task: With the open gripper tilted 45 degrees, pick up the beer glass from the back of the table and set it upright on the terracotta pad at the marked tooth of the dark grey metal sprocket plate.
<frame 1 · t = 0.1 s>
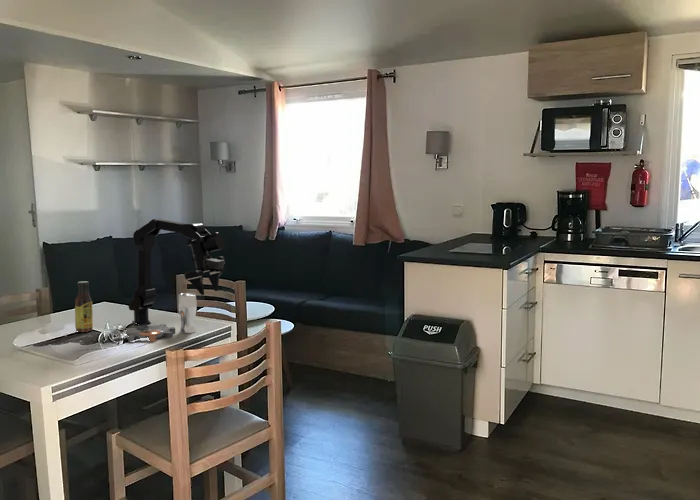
hand: (209, 292, 225), 15 cm above the table, tool pointing down, fingers open, 9 cm apart
sauce bottle: (84, 332, 225), on the table
beer glass: (188, 332, 226), on the table
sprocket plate: (148, 335, 220), on the table
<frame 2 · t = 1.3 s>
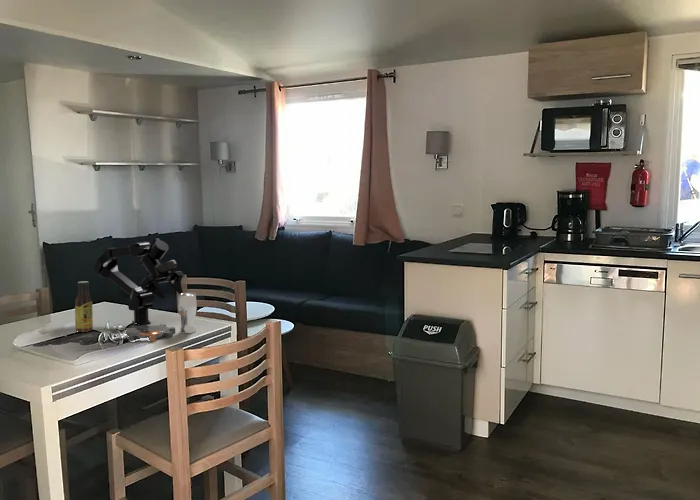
hand: (173, 296, 228), 13 cm above the table, tool tilted 45°, fingers open, 9 cm apart
nothing on the table moved.
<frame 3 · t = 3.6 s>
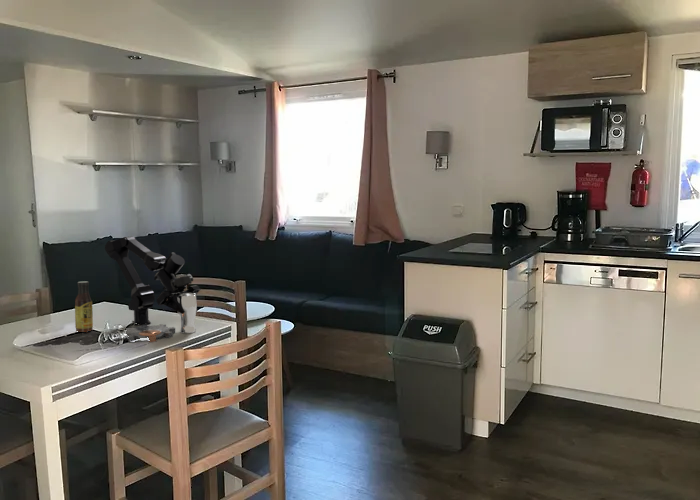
hand: (190, 311, 225), 8 cm above the table, tool tilted 45°, fingers closed on beer glass, 7 cm apart
beer glass: (188, 332, 226), on the table, touching gripper
everything else where it was.
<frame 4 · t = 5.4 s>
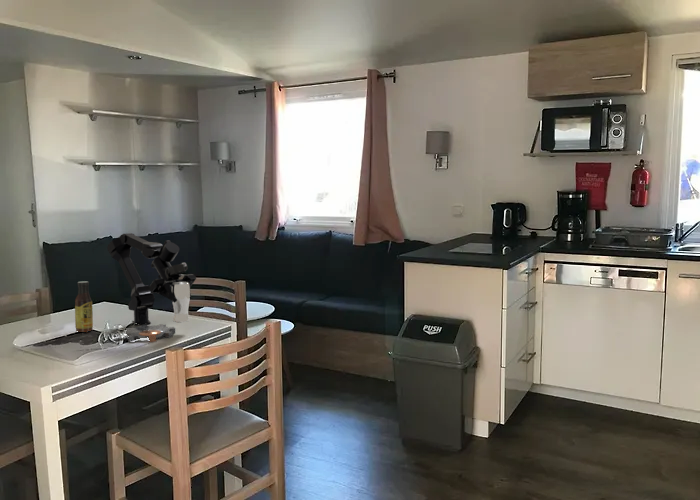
hand: (182, 300, 221), 13 cm above the table, tool tilted 45°, fingers closed on beer glass, 7 cm apart
beer glass: (181, 321, 223), point 5 cm above the table, touching gripper
everything else where it was.
when the fingers open (11 cm above the table, at t = 7.4 s): beer glass stays where it is, resting on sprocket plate.
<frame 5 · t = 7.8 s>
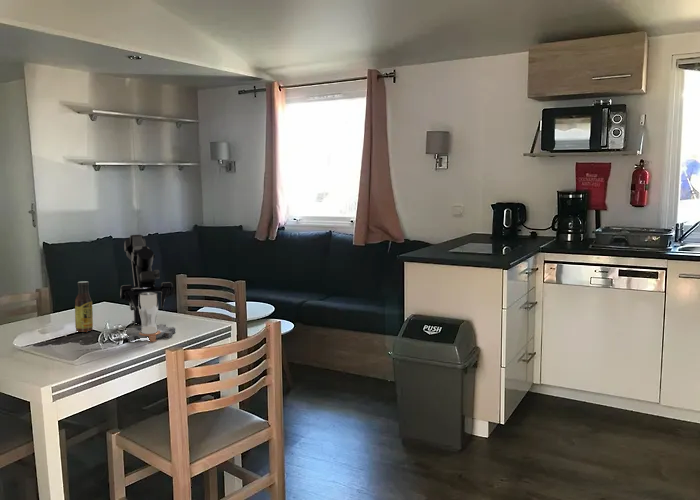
hand: (149, 308, 213), 12 cm above the table, tool tilted 45°, fingers open, 9 cm apart
beer glass: (149, 333, 216), point 2 cm above the table, touching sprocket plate
everything else where it was.
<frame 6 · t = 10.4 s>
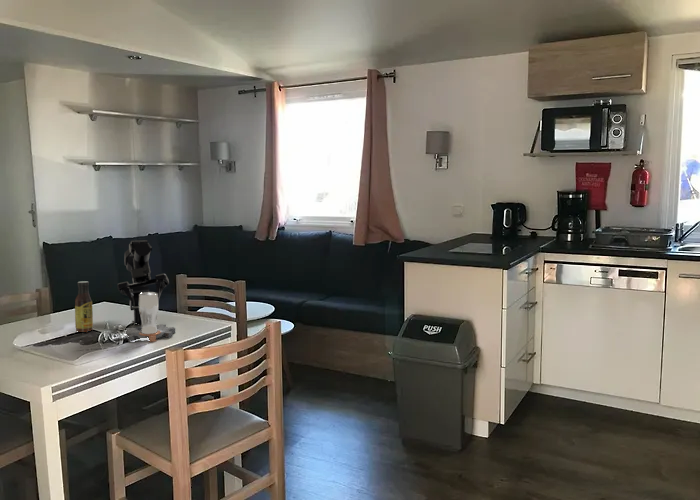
hand: (145, 303, 222), 12 cm above the table, tool tilted 35°, fingers open, 9 cm apart
nothing on the table moved.
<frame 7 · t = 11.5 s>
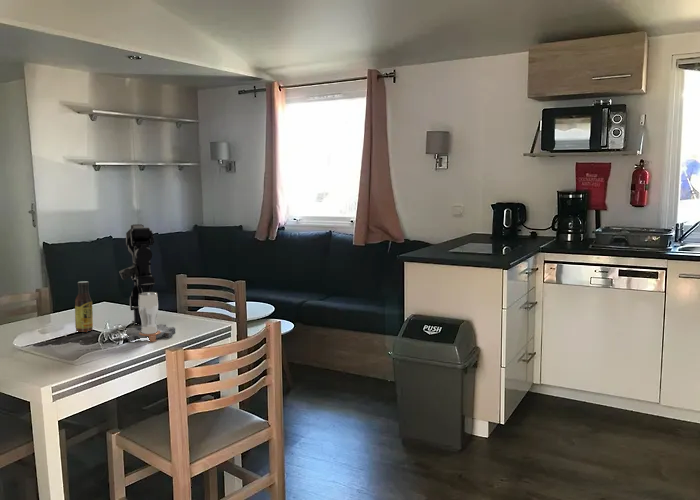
hand: (143, 298, 225), 13 cm above the table, tool pointing down, fingers open, 9 cm apart
nothing on the table moved.
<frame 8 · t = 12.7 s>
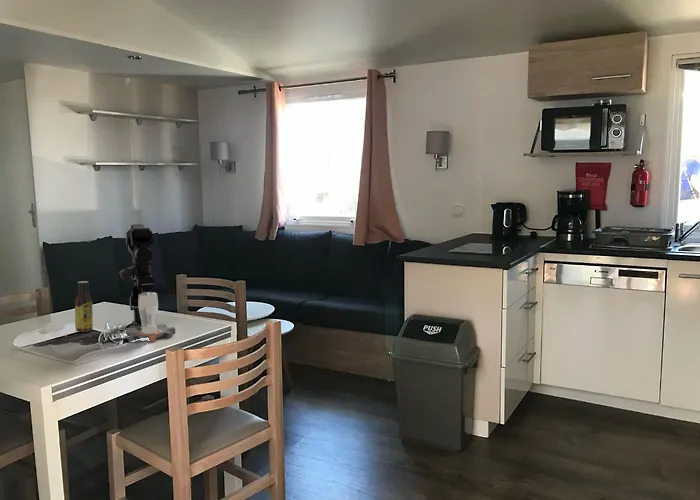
hand: (143, 298, 225), 13 cm above the table, tool pointing down, fingers open, 9 cm apart
nothing on the table moved.
at the end: beer glass 0.2 cm from the target spot on the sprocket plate, point 2.0 cm above the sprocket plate's base; beer glass tilted 0°; the gripper is holding nothing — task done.
